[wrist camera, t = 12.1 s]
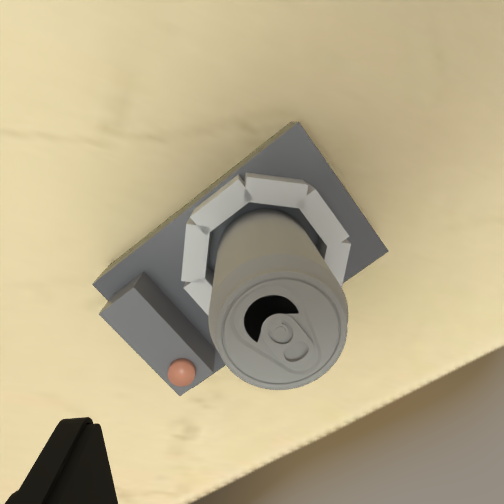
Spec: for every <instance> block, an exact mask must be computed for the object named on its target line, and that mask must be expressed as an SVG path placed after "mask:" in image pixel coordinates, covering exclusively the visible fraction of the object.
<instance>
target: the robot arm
mask: <svg viewBox="0 0 504 504" xmlns="http://www.w3.org/2000/svg"><path fill="white" fill-rule="evenodd" d="M5 504H118V501H117V497H116V492H115V488H114V483H113V479H112V474H111V470H110V465H109V461H108V456H107V452H106V447H105V443H104V438H103V434H102V429H101V426H100V425H99V424H93V421H92V419H91V418H89V417H85V418H72V419H63V420H61V421H60V422H59V423H58V425H57V426H56V428H55V430H54V432H53V433H52V435H51V437H50V438H49V440H48V442H47V443H46V445H45V447H44V448H43V450H42V452H41V453H40V455H39V457H38V458H37V460H36V462H35V464H34V465H33V467H32V469H31V470H30V472H29V474H28V475H27V477H26V479H25V480H24V482H23V484H22V485H21V487H20V489H19V490H18V491H16V492H15V493H13V494H12V495H11V496H10V497H9V499H8V500H7V501H6V503H5Z"/></svg>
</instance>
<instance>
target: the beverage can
mask: <svg viewBox="0 0 504 504" xmlns="http://www.w3.org/2000/svg"><path fill="white" fill-rule="evenodd" d="M208 321H209V331H210V335H211V338H212V341H213V343H214V345H215V347H216V349H217V351H218V352H219V354H220V356H221V358H222V360H223V361H224V363H225V364H226V366H227V367H228V368H229V369H230V370H231V371H232V372H233V373H234V374H235V375H236V376H237V377H239V378H240V379H242V380H243V381H245V382H247V383H249V384H251V385H254V386H257V387H260V388H264V389H270V390H287V389H293V388H298V387H301V386H304V385H307V384H309V383H311V382H313V381H315V380H317V379H318V378H320V377H321V376H322V375H324V374H325V373H326V372H327V371H328V370H329V369H330V368H331V367H332V366H333V365H334V364H335V362H336V361H337V359H338V358H339V356H340V354H341V352H342V350H343V348H344V345H345V341H346V336H347V324H348V305H347V301H346V297H345V294H344V292H343V290H342V288H341V286H340V284H339V282H338V281H337V279H336V278H335V276H334V275H333V273H332V272H331V270H330V269H329V267H328V266H327V264H326V262H325V261H324V259H323V258H322V256H321V255H320V253H319V252H318V250H317V249H316V247H315V245H314V244H313V242H312V241H311V239H310V238H309V236H308V235H307V233H306V232H305V230H304V228H303V227H302V226H301V225H300V224H299V222H298V221H296V220H295V219H294V218H292V217H291V216H289V215H288V214H286V213H284V212H281V211H277V210H273V209H259V210H253V211H250V212H247V213H245V214H243V215H241V216H239V217H238V218H236V219H235V220H234V221H233V222H232V223H230V225H229V226H228V227H227V228H226V229H225V231H224V233H223V235H222V237H221V239H220V242H219V245H218V252H217V259H216V265H215V272H214V279H213V286H212V293H211V300H210V307H209V316H208Z"/></svg>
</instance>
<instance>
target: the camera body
mask: <svg viewBox="0 0 504 504" xmlns="http://www.w3.org/2000/svg"><path fill="white" fill-rule="evenodd" d="M259 209H273V210H277V211H281V212H284V213H286V214H288V215H289V216H291V217H292V218H294V219H295V220H296V221H298V222H299V224H300V225H301V226H302V227H303V228H304V230H305V232H306V233H307V235H308V236H309V238H310V239H311V241H312V242H313V244H314V245H315V247H316V249H317V250H318V252H319V253H320V255H321V256H322V258H323V259H324V261H325V262H326V264H327V266H328V267H329V269H330V270H331V272H332V273H333V275H334V276H335V278H336V279H337V281H338V282H339V284H340V286H341V288H342V284H343V283H344V282H345V281H347V280H348V279H350V278H351V277H352V276H354V275H355V274H357V273H358V272H360V271H361V270H362V269H364V268H365V267H367V266H368V265H370V264H371V263H372V262H374V261H375V260H377V259H378V258H380V257H381V256H382V255H384V254H385V253H387V252H388V250H387V248H386V247H385V245H384V244H383V242H382V241H381V240H380V238H379V237H378V235H377V234H376V232H375V231H374V230H373V228H372V227H371V225H370V224H369V222H368V221H367V219H366V218H365V217H364V215H363V214H362V212H361V211H360V209H359V208H358V206H357V205H356V204H355V202H354V201H353V199H352V198H351V196H350V195H349V194H348V192H347V191H346V189H345V188H344V186H343V185H342V183H341V182H340V181H339V179H338V178H337V176H336V175H335V173H334V172H333V171H332V169H331V168H330V166H329V165H328V163H327V162H326V160H325V159H324V158H323V156H322V155H321V153H320V152H319V150H318V149H317V147H316V146H315V145H314V143H313V142H312V140H311V139H310V137H309V136H308V135H307V133H306V132H305V130H304V129H303V127H302V126H301V124H300V123H299V122H290V123H289V124H288V125H287V126H285V127H284V128H283V129H282V130H280V131H279V132H278V133H277V134H275V135H274V136H273V137H271V138H270V139H269V140H268V141H266V142H265V143H264V144H263V145H261V146H260V147H259V148H258V149H256V150H255V151H254V152H252V153H251V154H250V155H249V156H247V157H246V158H245V159H244V160H242V161H241V162H240V163H239V164H237V165H236V166H235V167H233V168H232V169H231V170H230V171H228V172H227V173H226V174H225V175H223V176H222V177H221V178H219V179H218V180H217V181H216V182H214V183H213V184H212V185H211V186H209V187H208V188H207V189H206V190H204V191H203V192H202V193H200V194H199V195H198V196H197V197H195V198H194V199H193V200H192V201H190V202H189V203H188V204H187V205H185V206H184V207H183V208H181V209H180V210H179V211H178V212H176V213H175V214H174V215H173V216H171V217H170V218H169V219H167V220H166V221H165V222H164V223H162V224H161V225H160V226H159V227H157V228H156V229H155V230H154V231H152V232H151V233H150V234H148V235H147V236H146V237H145V238H143V239H142V240H141V241H140V242H138V243H137V244H136V245H135V246H133V247H132V248H131V249H129V250H128V251H127V252H126V253H124V254H123V255H122V256H121V257H119V258H118V259H117V260H116V261H114V262H113V263H112V264H110V265H109V266H108V267H107V268H106V269H105V271H104V272H103V273H102V274H101V275H100V276H99V277H98V278H97V279H96V281H95V282H94V283H93V284H92V285H93V286H94V287H95V288H96V289H97V290H98V291H99V292H100V293H101V294H102V295H103V296H104V297H105V298H106V299H107V300H108V302H107V303H106V305H105V306H104V308H103V309H102V310H101V312H100V313H99V315H100V316H101V317H102V318H103V319H104V320H105V321H106V322H107V323H108V324H109V325H110V326H111V327H112V328H113V329H114V330H115V331H116V332H117V333H118V334H119V335H120V336H121V337H122V338H123V339H124V340H125V341H126V342H127V343H128V344H129V345H130V346H131V347H132V348H133V349H134V350H135V351H136V352H137V353H138V354H139V355H140V356H141V357H142V358H143V359H144V360H145V361H146V363H147V364H148V365H149V366H150V367H151V368H152V369H153V370H154V371H155V372H156V373H157V374H158V375H159V376H160V377H161V378H162V379H163V380H164V381H165V382H166V383H167V384H168V385H169V386H170V387H171V388H172V389H173V390H174V391H175V392H176V393H177V394H178V395H179V396H181V395H182V394H184V393H185V392H187V391H188V390H190V389H191V388H194V387H195V386H196V385H198V384H199V383H201V382H202V381H204V380H205V379H206V378H208V377H209V376H211V375H212V374H214V373H215V372H216V371H218V370H219V369H221V368H222V367H224V366H225V365H226V364H225V363H224V361H223V360H222V358H221V356H220V354H219V352H218V351H217V349H216V347H215V345H214V343H213V341H212V338H211V335H210V331H209V321H208V316H209V307H210V300H211V293H212V286H213V279H214V272H215V265H216V259H217V252H218V245H219V242H220V239H221V237H222V235H223V233H224V231H225V229H226V228H227V227H228V226H229V225H230V223H232V222H233V221H234V220H235V219H236V218H238V217H239V216H241V215H243V214H245V213H247V212H250V211H253V210H259Z"/></svg>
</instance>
